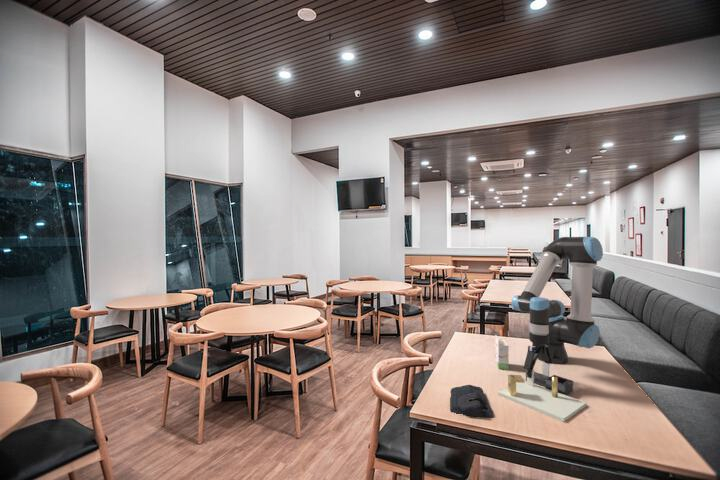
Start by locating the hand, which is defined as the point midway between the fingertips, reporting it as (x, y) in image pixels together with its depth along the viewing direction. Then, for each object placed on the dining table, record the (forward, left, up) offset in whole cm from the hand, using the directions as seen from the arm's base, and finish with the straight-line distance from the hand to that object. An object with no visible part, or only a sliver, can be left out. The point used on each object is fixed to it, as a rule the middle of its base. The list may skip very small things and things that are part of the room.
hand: (538, 381), depth 148 cm
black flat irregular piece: (+38, -8, -2) cm, 39 cm away
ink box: (-6, -21, -1) cm, 22 cm away
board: (+14, +8, -1) cm, 16 cm away
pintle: (+9, +11, 0) cm, 14 cm away
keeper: (+19, +1, -1) cm, 19 cm away
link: (0, +4, -1) cm, 4 cm away
